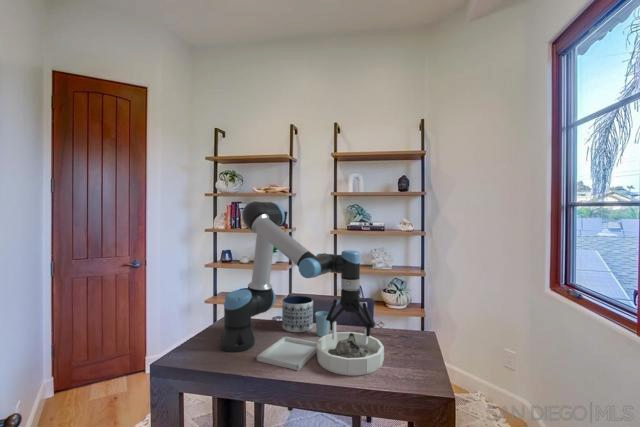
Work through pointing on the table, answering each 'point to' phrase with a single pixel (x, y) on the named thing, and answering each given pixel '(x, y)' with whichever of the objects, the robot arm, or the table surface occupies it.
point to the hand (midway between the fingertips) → (349, 341)
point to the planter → (297, 313)
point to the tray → (289, 353)
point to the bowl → (346, 362)
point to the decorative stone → (348, 348)
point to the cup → (322, 323)
